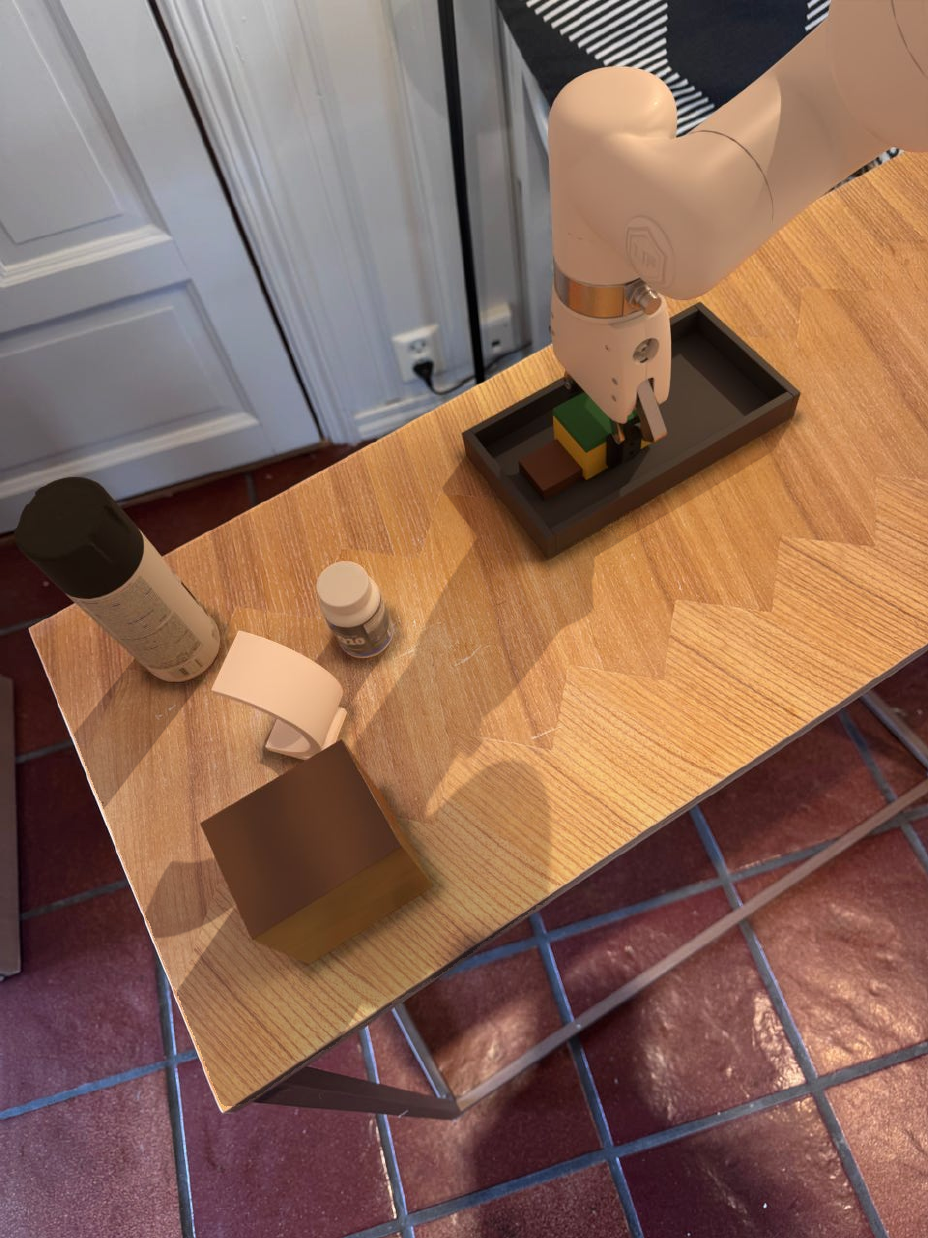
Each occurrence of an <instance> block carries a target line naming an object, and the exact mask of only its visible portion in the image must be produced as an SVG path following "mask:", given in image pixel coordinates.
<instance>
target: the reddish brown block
mask: <svg viewBox="0 0 928 1238" xmlns="http://www.w3.org/2000/svg"><path fill="white" fill-rule="evenodd" d="M518 462H519V471H520V472H521V473H522V474H523V476H524V477H525V478H526V479H527V481H528V482H529V483H530V484H531V486H532V487H533V488H534V489H535V491H536V492H537V493H538V494H539V496H540V497H541V498H542V499H543V500H544V501H545V500H546V499H548V498H550V497H552V496H553V495H555V494H557V493H559V492H561V491H562V490H564V489H566V488H568V487H569V486H571V485H573V484H575V483H576V482H578V481H580V480H582V479H583V474H582V468H581V466H580V465H579V464H578V463H577V462H576V461H575V459H574V458H573V457H572V456H571V455H570V454H569V452H568V451H567V450H566V449H565V448H564V447H563V445H562V444H561V443H560V442H559V441H558V440H557V439H556V440H554V441H552V442H550V443H548V444H547V445H545V446H543V447H541V448H539V449H538V450H536V451H534V452H532V453H530V454H529V455H527V456H525V457H523V458H522V459H520V460H518Z"/></svg>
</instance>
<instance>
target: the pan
mask: <svg viewBox="0 0 928 1238" xmlns="http://www.w3.org/2000/svg"><path fill="white" fill-rule="evenodd" d="M669 322H670V334H671V371H670V386H669V393H668V397H667V400H666V401H664V402H663V403H661V404H660V405H658V407H659V410H660V413H661V416H662V418H663V421H664V424H665V427H666V430H667V435H666V436H664V437H663V438H661V439H659V440H657V441H656V442H654V443H651V444H649V445H647V446H645V447H644V448H642V449H641V451H640V452H639V454H638V455H637V456H636V457H635V458H634V459H633V460H631V461H630V462H628V463H622V464H620V465H618V466H616V467H615V468H613V469H610V468H609V467H608V468H607V469H605V470H603V471H601V472H600V473H598V474H596V475H594V476H593V477H591V478H589V479H587V480H586V479H585V478H584V477H583V479H582V480H580V481H578V482H576V483H575V484H573V485H571V486H569V487H568V488H566V489H564V490H562V491H561V492H559V493H557V494H555V495H553V496H552V497H550V498H548V499H546V500H545V501H544V500H543V499H542V498H541V497H540V496H539V494H538V493H537V492H536V491H535V489H534V488H533V487H532V486H531V484H530V483H529V482H528V481H527V479H526V478H525V477H524V476H523V474H522V473H521V472H520V471H519V462H518V460H520V459H522V458H523V457H525V456H527V455H529V454H530V453H532V452H534V451H536V450H538V449H539V448H541V447H543V446H545V445H547V444H548V443H550V442H552V441H554V425H553V409H554V408H556V407H557V406H559V405H561V404H563V403H565V402H566V401H568V399H567V392H569V391H571V390H569V389H567V387H566V386H565V384H564V381H563V377H564V376H562V377H560V378H558V379H557V380H555V381H553V382H551V383H549V384H547V385H546V386H544V387H543V388H540V389H539V390H536V391H535V392H533V393H531V394H529V395H527V396H526V397H524V398H522V399H520V400H518V401H517V402H515V403H513V404H511V405H509V406H508V407H506V408H504V409H502V410H500V411H498V412H497V413H494V414H493V415H491V416H490V417H488V418H486V419H484V420H483V421H481V422H478V423H476V424H475V425H473V426H471V427H470V428H468V429H466V430H464V431H461V437H462V442H463V448H464V453H465V455H466V457H467V458H468V460H469V461H470V462H471V464H472V465H473V466H474V467H475V469H476V470H477V471H478V473H480V475H481V476H482V477H483V479H484V480H485V481H486V483H487V484H488V485H489V486H490V488H491V489H492V491H494V493H495V494H496V495H497V497H498V498H499V499H500V501H502V503H503V504H504V505H505V507H506V508H507V509H508V511H509V512H510V513H511V514H512V516H513V517H514V518H515V520H516V521H517V523H519V525H520V526H521V527H522V528H523V530H524V531H525V532H526V533H527V535H528V536H529V537H530V539H531V540H532V542H534V544H535V545H536V546H537V548H538V549H539V550H540V551H541V553H542V554H543V555H544V557H545V558H546V559H547V560H551V559H553V558H555V557H556V556H558V555H560V554H562V553H563V552H565V551H567V550H568V549H570V548H572V547H574V546H575V545H577V544H578V543H580V542H582V541H583V540H585V539H587V538H588V537H590V536H592V535H594V534H596V533H597V532H599V531H602V530H603V529H604V528H606V527H608V526H609V525H611V524H612V523H614V522H616V521H618V520H620V519H621V518H623V517H625V516H627V515H628V514H630V513H632V512H633V511H635V510H637V509H638V508H640V507H642V506H644V505H645V504H647V503H648V502H650V501H652V500H654V499H655V498H657V497H659V496H660V495H663V494H664V493H666V492H667V491H669V490H671V489H672V488H674V487H676V486H678V485H680V484H681V483H683V482H684V481H686V480H688V479H689V478H691V477H694V475H696V474H698V473H700V472H701V471H703V470H705V469H707V468H708V467H710V466H712V465H713V464H715V463H717V462H718V461H720V460H722V459H723V458H725V457H727V456H729V455H730V454H732V453H734V452H736V451H737V450H739V449H741V448H743V447H744V446H746V445H748V444H750V443H751V442H753V441H755V440H756V439H758V438H760V437H761V436H763V435H765V434H767V433H768V432H769V431H771V430H773V429H775V428H777V427H779V425H780V426H781V425H782V424H783V423H785V422H788V421H789V420H790V419H792V418H794V417H795V414H796V409H797V407H798V404H799V400H800V397H801V394H802V392H801V391H800V390H799V389H798V388H796V386H794V385H793V384H792V383H791V382H790V381H789V380H788V379H787V378H786V377H785V376H783V375H782V374H781V373H780V372H779V371H778V370H777V369H776V368H775V367H774V366H773V365H772V364H770V363H769V362H768V361H767V360H766V359H764V358H763V357H762V356H761V354H759V353H758V352H757V351H756V350H755V349H753V348H752V347H751V346H750V345H749V344H748V343H747V342H746V341H745V340H743V339H742V338H741V336H739V335H738V334H737V333H736V332H735V331H734V330H733V329H731V328H730V327H729V326H728V325H727V324H726V323H725V322H724V321H723V320H722V319H721V318H719V317H718V316H717V315H716V314H715V313H714V312H712V310H710V309H709V308H708V307H707V306H706V305H705V304H704V303H703V302H702V301H698V302H696V303H695V304H692V305H690V306H689V307H687V308H686V309H683V310H682V311H679V312H678V313H676V314H674V315H672V316H671V317H669Z"/></svg>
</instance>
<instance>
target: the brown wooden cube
mask: <svg viewBox="0 0 928 1238" xmlns="http://www.w3.org/2000/svg"><path fill="white" fill-rule="evenodd" d="M199 824H200V826H201V829H202V831H203V833H204V835H205V838H206V841H207V842H208V845H209V847H210V849H211V852H212V854H213V856H214V858H215V860H216V863H217V865H218V868H219V870H220V871H221V874H222V876H223V879H224V882H225V883H226V885H227V887H228V890H229V892H230V895H231V896H232V899H233V901H234V903H235V905H236V908H237V910H238V912H239V914H240V918H241V919H242V921H243V924H244V926H245V928H246V930H247V933H248V935H249V937H250V939H251V940H252V941H254V942H256V943H258V944H260V945H262V946H266V947H267V948H269V949H272V950H275V951H277V952H279V953H281V954H284V955H287V956H289V957H291V958H293V959H296V960H298V961H301V962H302V963H306V964H308V965H311V964H312V963H314V962H316V961H318V960H319V959H321V958H323V957H324V956H326V955H327V954H328V953H330V952H332V951H333V950H335V949H336V948H338V947H339V946H341V945H343V944H344V943H346V942H348V941H349V940H351V939H352V938H354V937H355V936H357V935H358V934H360V933H361V932H363V931H365V930H366V929H368V928H369V927H371V926H373V925H374V924H376V923H377V922H379V921H381V920H382V919H384V918H385V917H387V916H388V915H390V914H392V913H393V912H395V911H396V910H398V909H400V908H401V907H403V906H404V905H406V904H407V903H409V902H411V901H412V900H414V899H416V898H417V897H419V896H420V895H422V894H424V893H425V892H426V891H428V890H429V889H431V888H432V887H434V884H433V882H432V881H431V879H430V877H429V875H428V874H427V871H426V870H425V868H424V866H423V864H422V862H421V861H420V859H419V858H418V856H417V854H416V852H415V851H414V849H413V847H412V845H411V843H410V841H409V839H408V838H407V836H406V835H405V832H404V831H403V829H402V827H401V826H400V823H399V822H398V820H397V818H396V817H395V815H394V813H393V811H392V810H391V808H390V806H389V805H388V803H387V800H386V799H385V798H384V796H383V794H382V792H381V791H380V789H379V787H377V785H376V784H375V782H374V781H373V780H372V778H371V776H370V775H369V774H368V773H367V772H366V769H365V768H364V767H363V766H362V764H361V763H360V761H359V760H358V758H357V757H356V756H355V754H354V753H353V752H352V750H351V749H350V747H349V746H348V745H347V743H346V742H345V740H344V739H343V738H341V739H339V740H336V743H334V744H332V745H330V746H329V747H327V748H325V749H324V750H322V751H320V752H319V753H317V754H315V755H314V756H312V757H310V758H309V759H307V760H303V761H301V762H300V763H299V764H296V765H295V766H293V767H292V768H290V769H288V770H287V771H285V772H284V773H282V774H281V775H278V776H277V777H275V778H273V779H272V780H270V781H268V782H267V783H265V784H263V785H262V786H260V787H258V788H257V789H255V790H253V791H252V792H250V793H248V794H247V795H245V796H243V797H242V798H240V799H239V800H238V799H237V801H235V802H233V803H231V804H230V805H228V806H226V807H225V808H223V809H221V810H220V811H218V812H216V813H214V814H213V815H212V816H209V817H208V818H206V819H205V820H203V821H201V822H200V823H199Z"/></svg>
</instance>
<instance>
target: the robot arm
mask: <svg viewBox="0 0 928 1238" xmlns="http://www.w3.org/2000/svg"><path fill="white" fill-rule="evenodd" d="M676 104H677V103H676V100H675V98H674V95H673V93H672V90H670V88H669V87H668V84H666V83H665V82H664V81H663V80H662V79H661V78H660V77H658V76H656V74H653V73H651V72H649V71H647V70H644V69H641V68H637V67H632V66H625V65H622V66H621V65H618V66H617V65H614V66H604V67H600V68H596V69H592V70H589V71H587V72H584V73H583V74H581V75H579V76H577V77H575V78H574V79H572V80H571V81H570V82H568V83H567V84H566V85H564V87H563V88H562V89H561V90H560V91H559V93H557V96H556V97H555V98H554V100H553V102H552V105H551V108H550V112H549V113H548V119H547V149H548V150H547V151H548V153H547V154H548V174H549V195H550V197H549V198H550V220H551V221H550V223H551V242H552V243H551V244H552V245H551V246H552V266H553V267H552V268H553V280H552V286H551V287H552V288H551V297H550V325H549V326H548V331H549V334H550V336H551V345H552V350H553V354H554V356H555V358H556V360H557V361H558V362H559V364H560V366H561V367H562V368H563V369H564V374H563V376H562V377H563V381H564V384H565V386H566V387H567V389H569V390H571V391H569V392H567V399H568V400H570V399H572V398H574V397H576V396H578V395H580V394H581V393H583V392H586V393H587V394H588V396H589V397H590V398H591V399H592V400H593V401H594V402H595V403H596V404H597V405H598V406H599V407H600V408H601V409H602V411H603V412H604V413H605V414H606V415H607V416H608V417H609V421H610V427H611V432H612V433H610V434H609V435H608V436H607V449H606V465H607V466H608V467H609V468H610V469H613V468H615V467H616V466H618V465H620V464H622V463H628V462H630V461H631V460H633V459H634V458H635V457H636V456H637V455H638V454H639V452H640V451H641V441H642V440H643V441H646V442H651V443H654V442H656V441H657V440H659V439H661V438H663V437H664V436H666V435H667V430H666V427H665V424H664V421H663V418H662V416H661V413H660V410H659V407H658V405H660V404H661V403H663V402H664V401H666V400H667V397H668V393H669V386H670V371H671V334H670V322H669V318H670V314H669V309H668V304H667V300H666V298H665V297H667V298H668V299H672V300H674V301H675V300H676V301H689V300H690V301H691V300H694V299H697V298H699V297H702V296H704V295H706V294H707V293H709V292H710V291H712V290H713V289H714V288H716V287H717V286H719V285H720V284H721V283H722V282H723V281H725V280H726V279H727V278H728V277H730V275H732V273H734V272H735V271H736V270H737V269H739V267H740V266H742V265H743V264H745V262H746V261H748V260H749V259H751V258H752V256H753V255H755V254H756V253H757V252H758V251H759V250H760V249H761V248H762V247H763V246H764V245H765V244H766V243H768V241H769V240H771V239H772V238H774V236H776V235H777V234H778V233H779V232H780V231H782V230H783V229H784V228H786V227H787V226H788V225H789V224H790V223H791V222H792V221H794V220H795V219H796V218H797V217H798V216H799V215H800V214H802V213H803V212H804V211H805V210H806V209H808V208H809V207H810V206H811V205H813V204H814V203H815V202H817V201H818V200H819V199H820V198H821V197H823V196H824V195H825V194H826V193H828V192H829V191H830V190H832V189H833V188H834V187H835V186H837V185H839V184H840V183H841V182H843V181H844V180H845V179H847V178H849V177H850V176H851V175H853V174H855V173H856V172H858V171H859V170H860V169H862V168H863V167H865V166H866V165H868V164H869V163H871V162H873V161H874V160H875V159H877V158H878V157H880V156H882V155H883V154H885V153H886V152H887V151H890V150H891V149H893V148H895V149H897V150H900V151H903V152H908V153H913V154H925V153H928V0H830V3H829V6H828V13H827V17H826V18H824V20H822V22H820V23H819V24H818V25H817V26H816V27H815V28H814V29H813V30H811V32H809V33H808V34H807V35H805V37H803V39H801V41H799V42H798V43H797V44H796V45H795V46H794V47H792V48H791V50H790V51H788V52H787V53H785V55H784V56H783V57H781V59H779V60H778V61H777V62H775V64H774V65H772V66H771V67H770V68H769V69H767V70H766V71H765V72H764V73H763V74H762V75H761V76H759V77H758V78H757V79H755V80H754V81H753V82H752V83H751V84H750V85H748V86H747V87H746V88H745V89H743V90H742V91H740V92H739V93H738V94H737V95H735V96H734V97H733V98H731V99H730V100H729V101H728V102H727V103H724V104H722V106H721V107H718V109H717V110H716V111H714V112H713V113H711V115H709V116H708V117H706V119H704V120H703V121H702V122H701V123H699V124H697V126H695V127H694V128H693V129H691V130H690V131H689V132H687V133H685V135H681V136H678V137H677V132H678V110H677V105H676ZM632 411H633V416H634V418H631V419H630V420H628V421H627V419H628V418H627V417H628V415H630V414H631V413H632Z"/></svg>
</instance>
